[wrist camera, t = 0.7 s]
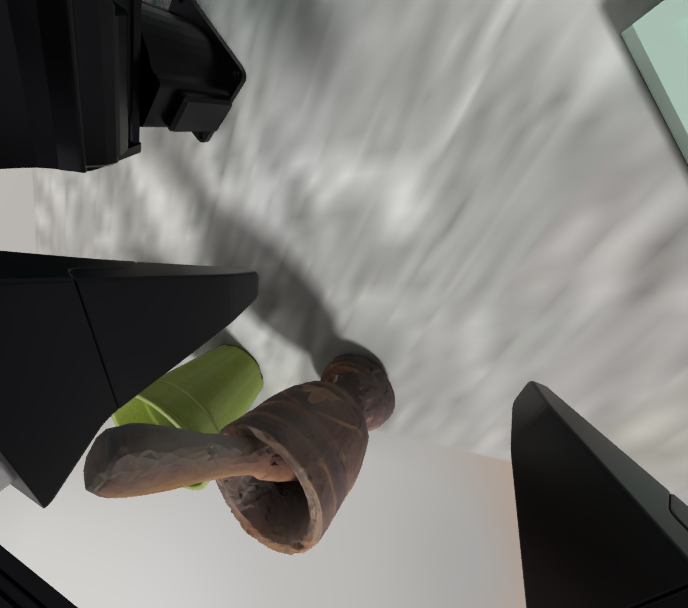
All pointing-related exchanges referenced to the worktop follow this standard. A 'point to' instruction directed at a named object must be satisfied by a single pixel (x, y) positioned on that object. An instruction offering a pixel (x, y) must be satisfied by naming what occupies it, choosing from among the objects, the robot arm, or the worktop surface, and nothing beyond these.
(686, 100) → the tray
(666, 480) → the worktop surface
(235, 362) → the plant pot
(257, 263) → the worktop surface
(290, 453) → the mortar and pestle
